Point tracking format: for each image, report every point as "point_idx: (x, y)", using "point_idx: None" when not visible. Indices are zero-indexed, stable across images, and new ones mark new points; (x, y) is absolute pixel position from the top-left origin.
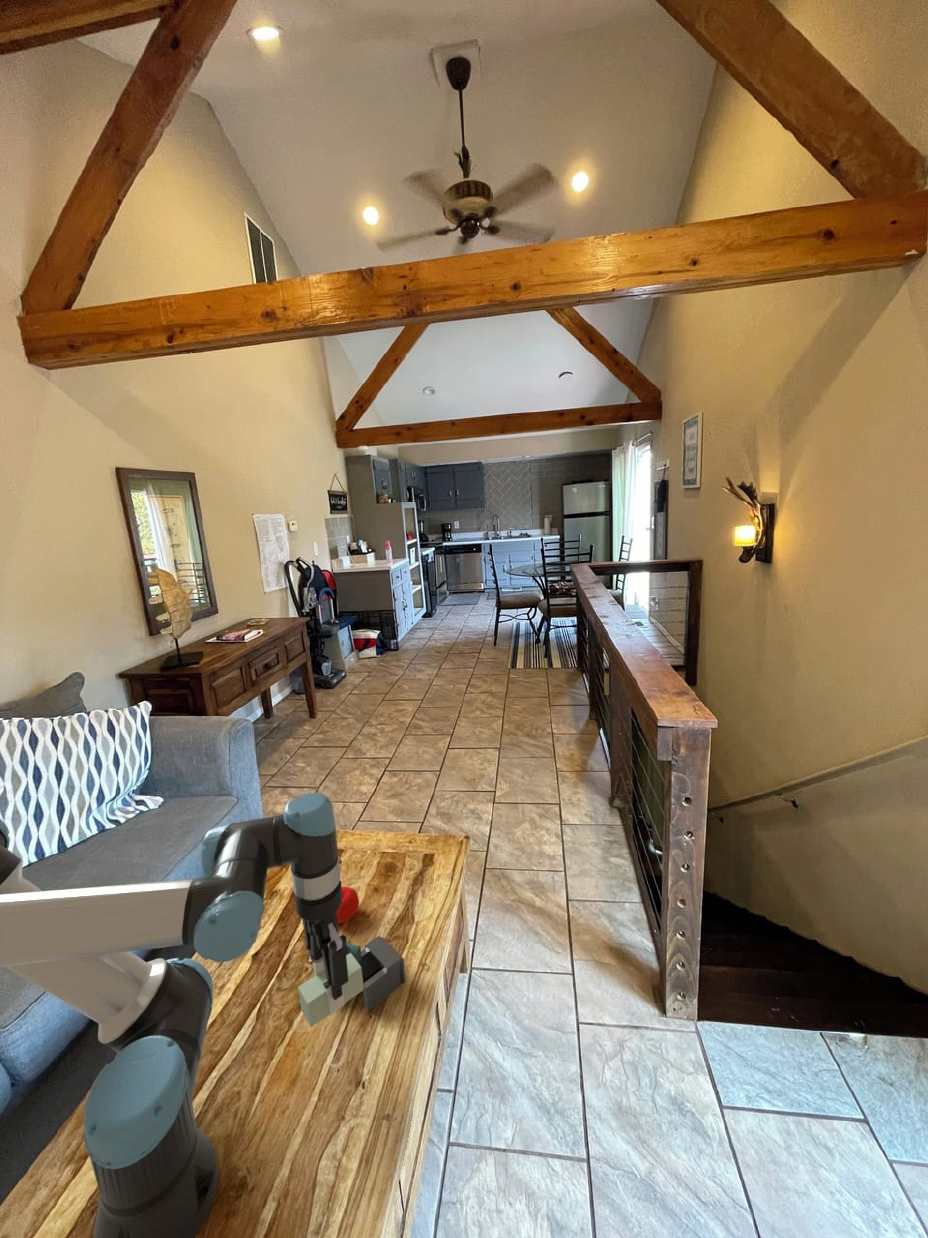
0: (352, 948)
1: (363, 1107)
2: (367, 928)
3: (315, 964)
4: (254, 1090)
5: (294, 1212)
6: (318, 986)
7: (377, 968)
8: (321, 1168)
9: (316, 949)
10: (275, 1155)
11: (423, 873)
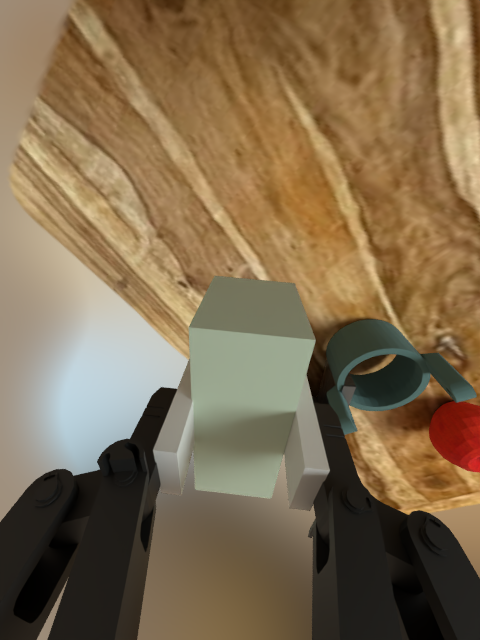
0: (351, 426)
1: (154, 266)
2: (389, 417)
3: (308, 472)
4: (326, 118)
5: (69, 83)
6: (235, 395)
7: (318, 391)
8: (110, 165)
9: (330, 617)
10: (177, 97)
11: (378, 492)
